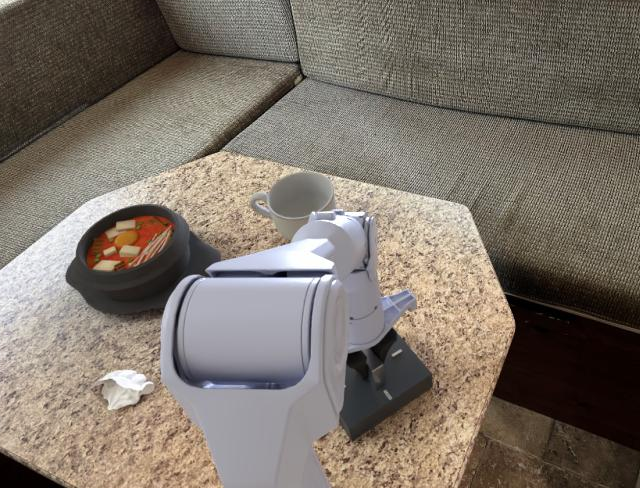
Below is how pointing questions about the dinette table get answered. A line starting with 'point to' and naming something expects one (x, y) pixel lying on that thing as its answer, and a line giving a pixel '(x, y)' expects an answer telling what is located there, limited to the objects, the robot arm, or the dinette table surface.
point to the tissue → (123, 388)
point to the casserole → (137, 259)
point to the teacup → (295, 200)
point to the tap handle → (374, 369)
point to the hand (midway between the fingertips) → (369, 369)
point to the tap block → (383, 390)
